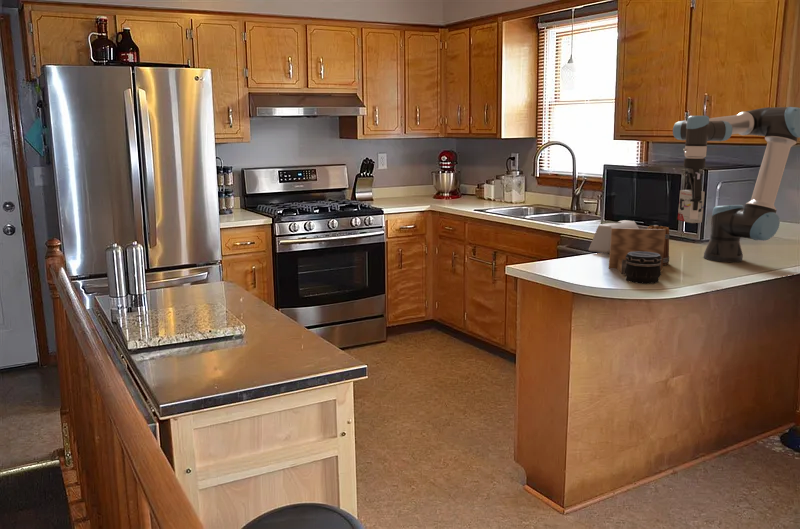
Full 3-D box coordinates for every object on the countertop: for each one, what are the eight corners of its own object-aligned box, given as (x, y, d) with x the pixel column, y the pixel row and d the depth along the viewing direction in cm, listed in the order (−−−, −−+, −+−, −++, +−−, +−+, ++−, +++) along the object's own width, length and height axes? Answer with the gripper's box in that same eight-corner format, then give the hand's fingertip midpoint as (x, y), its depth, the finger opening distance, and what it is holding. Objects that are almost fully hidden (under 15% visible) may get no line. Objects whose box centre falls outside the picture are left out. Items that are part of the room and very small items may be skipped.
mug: (671, 266, 287) (674, 229, 284) (643, 265, 289) (646, 228, 286) (664, 259, 302) (667, 224, 299) (638, 258, 304) (641, 223, 301)
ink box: (676, 220, 275) (679, 189, 273) (687, 219, 277) (690, 189, 274) (691, 223, 267) (694, 191, 265) (702, 222, 269) (705, 191, 266)
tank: (620, 256, 308) (622, 227, 306) (587, 251, 319) (589, 223, 317) (647, 249, 326) (649, 222, 323) (615, 245, 337) (617, 218, 334)
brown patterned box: (661, 269, 279) (664, 229, 276) (668, 275, 269) (671, 233, 266) (608, 268, 282) (611, 227, 279) (613, 273, 271) (616, 232, 268)
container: (622, 282, 256) (624, 255, 254) (624, 275, 268) (626, 249, 266) (660, 285, 252) (662, 258, 250) (661, 278, 263) (663, 252, 261)
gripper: (676, 156, 278) (672, 213, 283) (692, 159, 257) (687, 220, 261) (696, 156, 278) (692, 213, 282) (714, 159, 256) (708, 221, 261)
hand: (689, 217), depth 272 cm, fingers closed on ink box, 9 cm apart
